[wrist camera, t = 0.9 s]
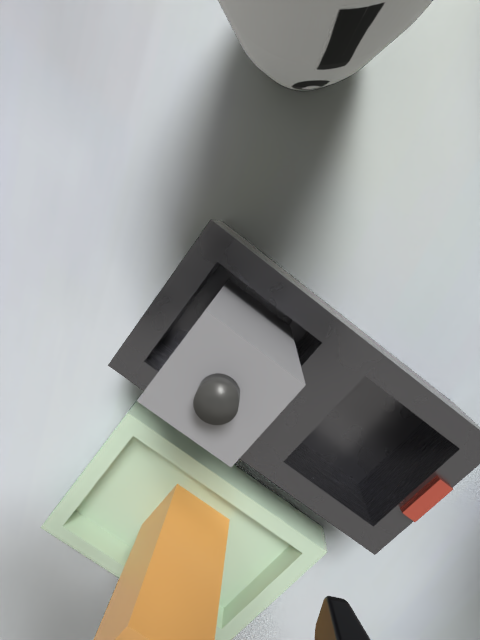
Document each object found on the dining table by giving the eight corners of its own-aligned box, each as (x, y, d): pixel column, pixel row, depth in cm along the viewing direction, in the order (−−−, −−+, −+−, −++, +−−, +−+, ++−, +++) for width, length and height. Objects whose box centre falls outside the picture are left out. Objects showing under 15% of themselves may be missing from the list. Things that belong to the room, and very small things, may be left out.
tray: (322, 526, 22) (327, 552, 20) (227, 616, 25) (224, 645, 23) (139, 397, 21) (127, 412, 19) (57, 505, 23) (40, 527, 21)
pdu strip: (453, 403, 20) (504, 450, 15) (355, 496, 21) (376, 560, 17) (222, 221, 18) (209, 219, 14) (138, 338, 20) (104, 367, 16)
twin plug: (291, 327, 18) (308, 396, 11) (243, 383, 19) (228, 483, 12) (228, 279, 18) (200, 315, 10) (183, 338, 19) (127, 412, 11)
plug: (229, 519, 22) (207, 696, 14) (192, 558, 23) (151, 745, 15) (177, 483, 22) (121, 643, 13) (142, 524, 22) (69, 697, 14)
